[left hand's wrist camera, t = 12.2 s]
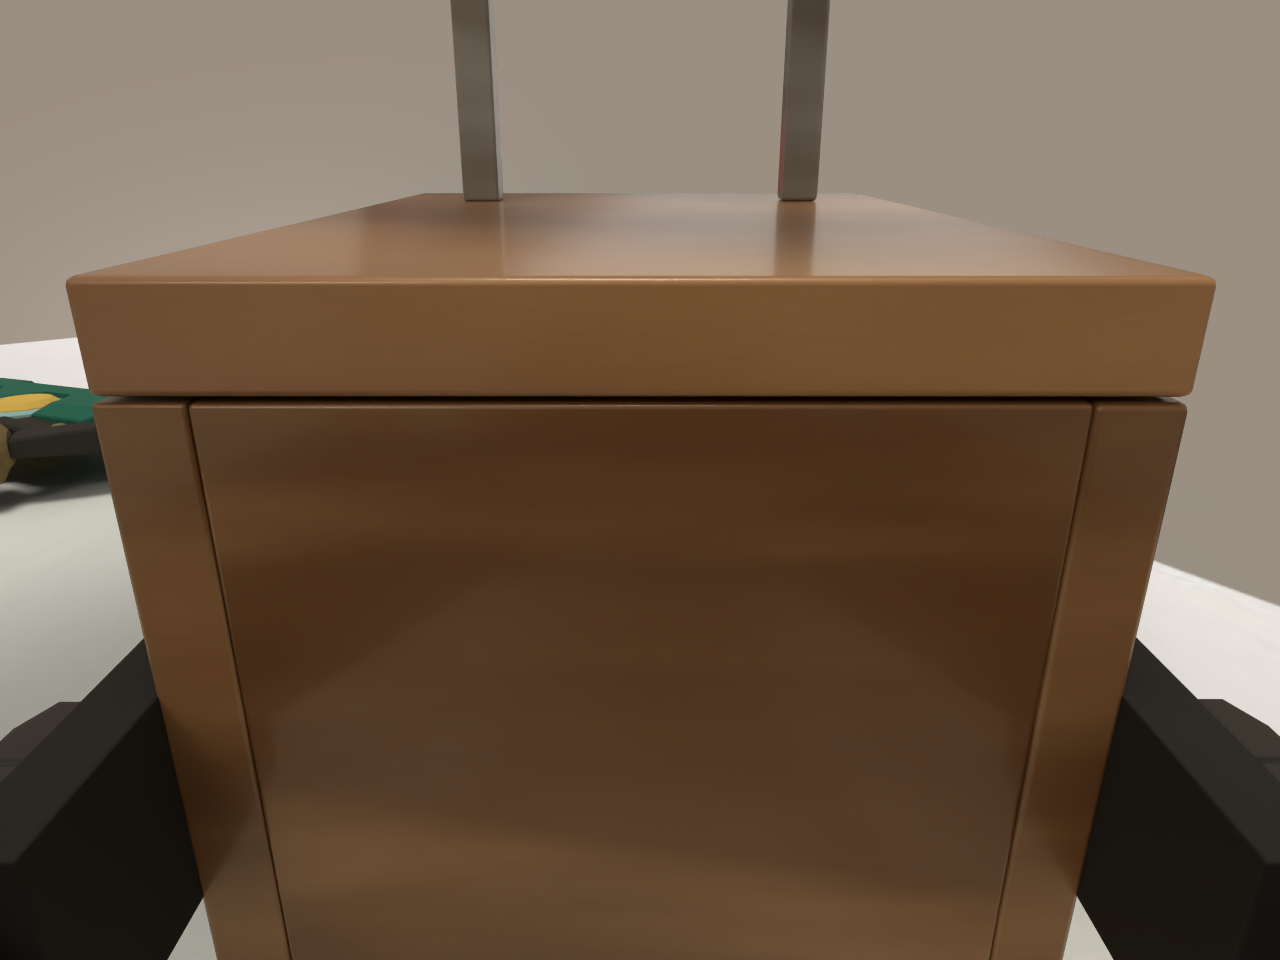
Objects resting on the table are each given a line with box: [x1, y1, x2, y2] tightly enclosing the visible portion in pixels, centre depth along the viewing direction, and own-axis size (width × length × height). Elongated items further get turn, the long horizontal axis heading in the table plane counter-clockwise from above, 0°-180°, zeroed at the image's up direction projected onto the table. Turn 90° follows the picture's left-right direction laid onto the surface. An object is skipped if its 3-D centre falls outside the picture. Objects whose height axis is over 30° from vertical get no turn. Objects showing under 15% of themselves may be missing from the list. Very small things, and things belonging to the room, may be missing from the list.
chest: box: [92, 397, 1187, 960], centre depth 16 cm, size 13×10×11 cm
